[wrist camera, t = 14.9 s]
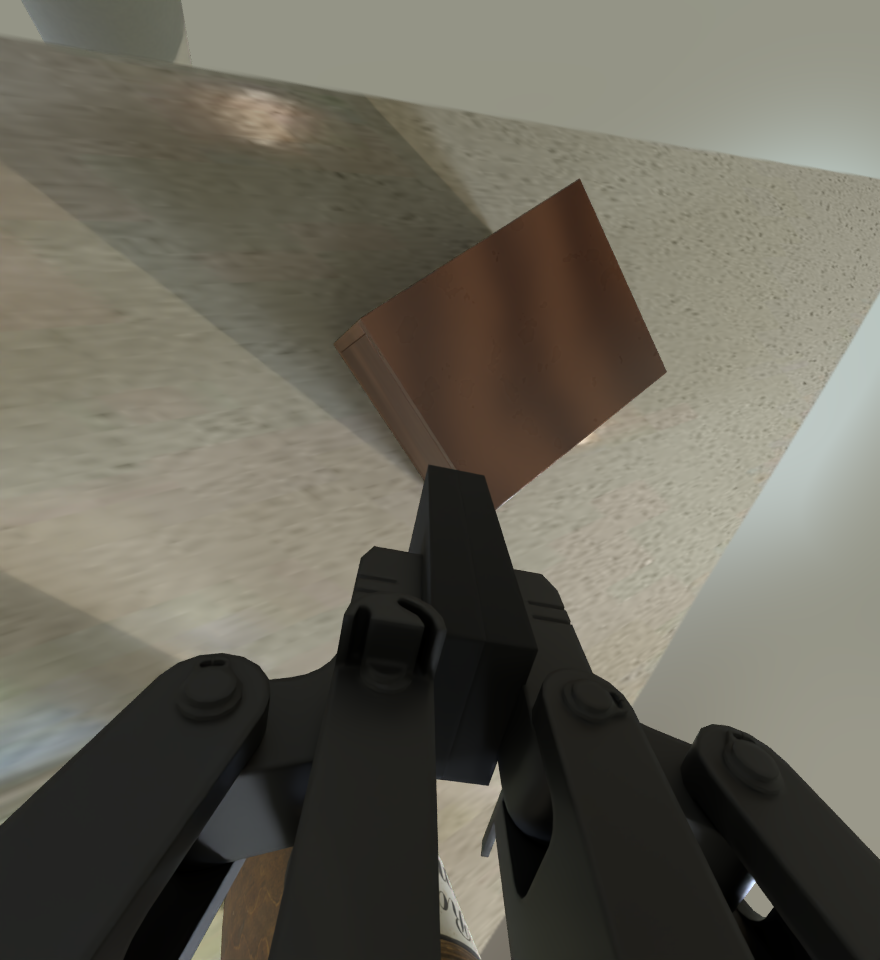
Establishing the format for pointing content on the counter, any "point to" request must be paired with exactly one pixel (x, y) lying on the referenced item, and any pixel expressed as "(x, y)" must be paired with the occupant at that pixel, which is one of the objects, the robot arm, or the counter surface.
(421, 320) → the lid
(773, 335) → the counter surface
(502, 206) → the counter surface
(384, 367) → the chest
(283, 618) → the counter surface
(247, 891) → the wooden container
